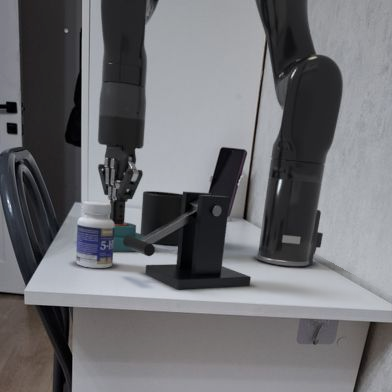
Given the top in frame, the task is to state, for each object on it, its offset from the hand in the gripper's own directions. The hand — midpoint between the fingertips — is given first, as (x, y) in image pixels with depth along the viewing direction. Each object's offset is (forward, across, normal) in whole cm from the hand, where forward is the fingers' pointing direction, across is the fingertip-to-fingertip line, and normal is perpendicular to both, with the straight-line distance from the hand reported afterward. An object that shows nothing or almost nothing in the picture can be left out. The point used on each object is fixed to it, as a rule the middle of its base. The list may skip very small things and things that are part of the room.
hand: (116, 223), depth 95 cm
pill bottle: (+4, -14, +10) cm, 18 cm away
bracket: (+4, -25, -1) cm, 25 cm away
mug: (+4, +7, -13) cm, 16 cm away
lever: (-2, -25, +3) cm, 25 cm away
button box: (+4, 0, 0) cm, 4 cm away
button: (+2, 0, 0) cm, 2 cm away
